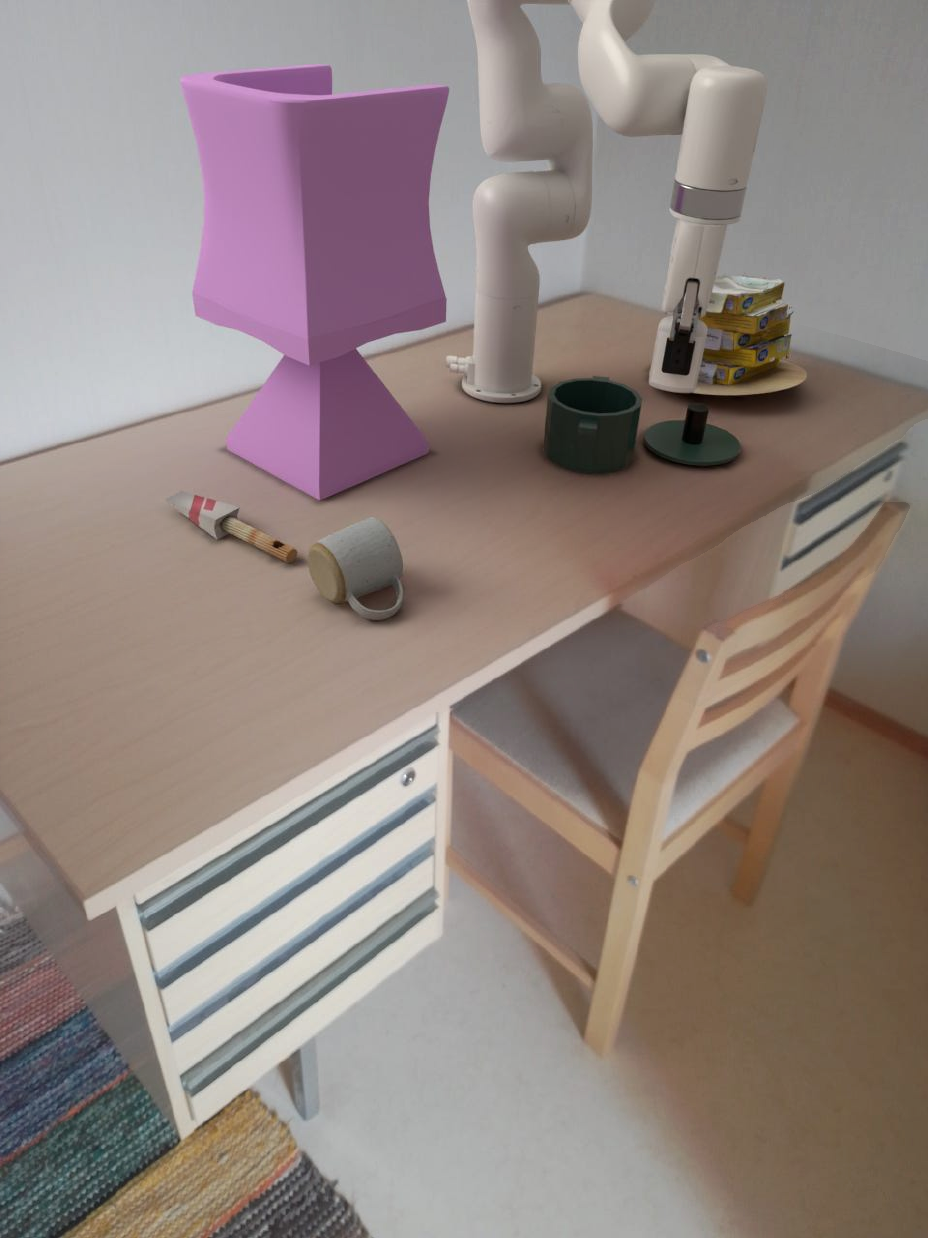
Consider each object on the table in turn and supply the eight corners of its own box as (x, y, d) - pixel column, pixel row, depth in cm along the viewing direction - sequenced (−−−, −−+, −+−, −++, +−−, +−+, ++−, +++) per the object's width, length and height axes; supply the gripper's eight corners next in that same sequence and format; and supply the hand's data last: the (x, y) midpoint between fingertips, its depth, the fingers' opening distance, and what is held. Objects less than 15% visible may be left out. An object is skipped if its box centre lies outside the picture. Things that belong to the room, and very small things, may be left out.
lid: (640, 462, 133) (646, 420, 129) (645, 422, 143) (652, 383, 140) (739, 475, 131) (749, 433, 127) (737, 433, 141) (746, 394, 138)
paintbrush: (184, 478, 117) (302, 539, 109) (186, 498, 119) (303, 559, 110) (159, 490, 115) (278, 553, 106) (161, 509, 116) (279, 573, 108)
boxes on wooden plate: (618, 371, 160) (632, 269, 150) (724, 346, 171) (744, 250, 161) (723, 427, 143) (747, 317, 133) (833, 396, 154) (863, 292, 144)
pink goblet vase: (442, 453, 133) (452, 85, 106) (318, 508, 119) (293, 103, 92) (336, 404, 144) (321, 62, 118) (212, 449, 131) (163, 75, 104)
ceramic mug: (304, 587, 105) (300, 527, 100) (365, 562, 109) (364, 504, 105) (360, 635, 99) (358, 573, 94) (422, 607, 103) (424, 547, 98)
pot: (534, 475, 128) (539, 416, 123) (552, 421, 143) (558, 366, 138) (628, 488, 126) (637, 429, 121) (637, 431, 141) (645, 376, 136)
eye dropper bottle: (680, 399, 111) (700, 296, 104) (641, 383, 114) (658, 282, 107) (702, 389, 113) (723, 288, 106) (664, 374, 117) (682, 275, 109)
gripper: (674, 180, 108) (648, 337, 119) (667, 217, 95) (638, 389, 106) (741, 186, 107) (708, 345, 118) (744, 225, 94) (706, 398, 105)
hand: (675, 364), depth 112 cm, fingers closed on eye dropper bottle, 3 cm apart
